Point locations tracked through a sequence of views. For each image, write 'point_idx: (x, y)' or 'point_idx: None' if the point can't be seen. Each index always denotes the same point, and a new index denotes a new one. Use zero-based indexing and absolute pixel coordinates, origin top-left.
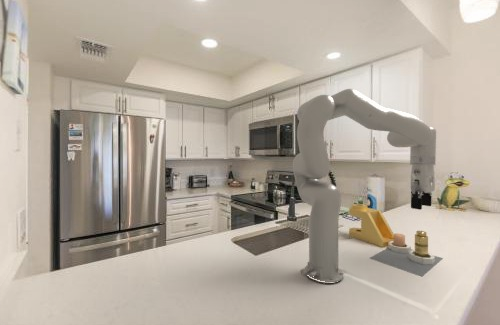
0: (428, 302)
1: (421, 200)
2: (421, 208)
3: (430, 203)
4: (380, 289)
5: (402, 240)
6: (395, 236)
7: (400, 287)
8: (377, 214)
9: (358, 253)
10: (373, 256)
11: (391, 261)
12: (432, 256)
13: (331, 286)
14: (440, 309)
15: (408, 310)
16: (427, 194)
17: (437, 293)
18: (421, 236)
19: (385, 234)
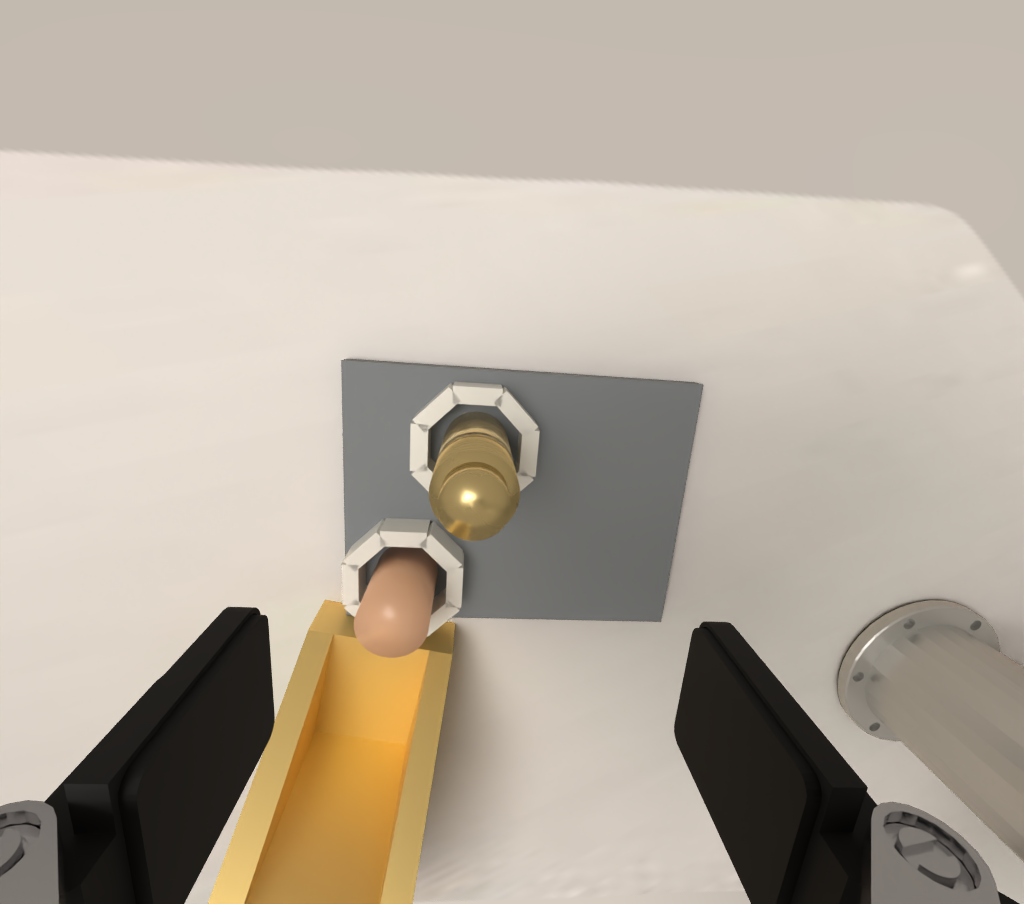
0: (884, 314)
1: (828, 744)
2: (728, 626)
3: (232, 638)
4: (894, 476)
5: (417, 585)
6: (427, 633)
7: (827, 428)
8: (261, 897)
9: (596, 680)
10: (623, 616)
11: (621, 538)
12: (456, 397)
13: (980, 602)
14: (911, 268)
15: (987, 354)
16: (99, 886)
17: (781, 303)
18: (507, 487)
19: (317, 700)
